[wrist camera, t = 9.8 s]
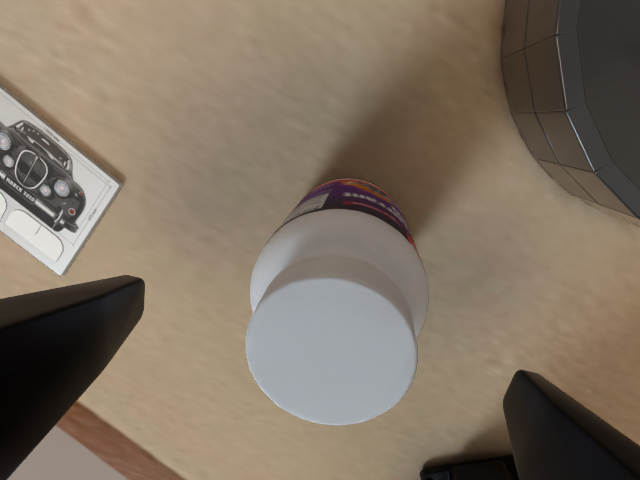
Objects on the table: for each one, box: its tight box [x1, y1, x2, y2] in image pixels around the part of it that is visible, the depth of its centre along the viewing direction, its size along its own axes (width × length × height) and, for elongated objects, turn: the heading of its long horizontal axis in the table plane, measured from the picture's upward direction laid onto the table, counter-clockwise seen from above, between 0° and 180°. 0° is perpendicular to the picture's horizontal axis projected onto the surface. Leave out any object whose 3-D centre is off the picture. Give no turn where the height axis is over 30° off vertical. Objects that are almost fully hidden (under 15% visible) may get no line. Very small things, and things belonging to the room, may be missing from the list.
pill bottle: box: [245, 178, 429, 425], centre depth 13 cm, size 5×5×10 cm
